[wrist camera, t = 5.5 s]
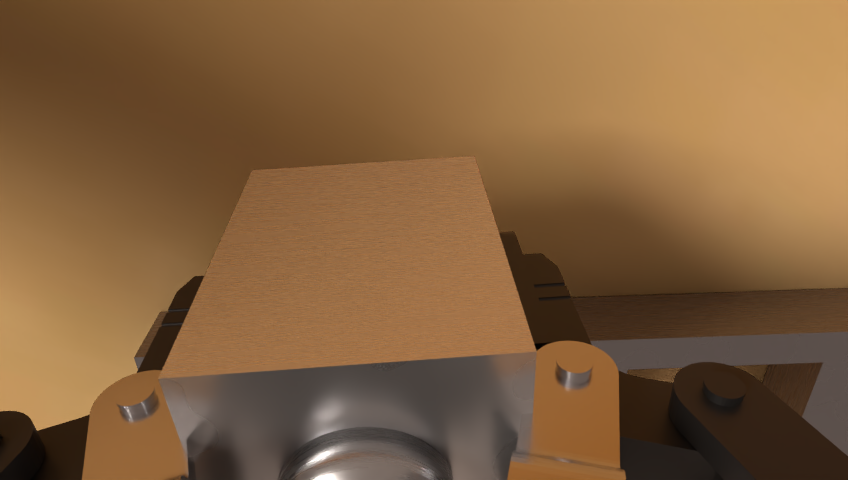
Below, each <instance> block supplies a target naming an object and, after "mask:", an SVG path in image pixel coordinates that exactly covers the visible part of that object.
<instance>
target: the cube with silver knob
mask: <svg viewBox="0 0 848 480" xmlns="http://www.w3.org/2000/svg"><path fill="white" fill-rule="evenodd" d="M536 354H537V351H536V348H535V345H534V342H533V339H532V335H531V332H530V329H529V326H528V323H527V320H526V317H525V313H524V310H523V307H522V304H521V301H520V298H519V294H518V291H517V288H516V285H515V282H514V279H513V276H512V272H511V269H510V266H509V263H508V260H507V257H506V254H505V250H504V247H503V244H502V241H501V238H500V235H499V231H498V228H497V225H496V222H495V219H494V216H493V213H492V209H491V206H490V203H489V200H488V197H487V194H486V191H485V187H484V184H483V181H482V178H481V175H480V172H479V168H478V165H477V162H476V159H475V156H464V157H448V158H433V159H417V160H402V161H386V162H371V163H355V164H340V165H324V166H309V167H293V168H278V169H262V170H252V172H251V174H250V176H249V178H248V181H247V183H246V185H245V187H244V189H243V192H242V194H241V196H240V198H239V200H238V203H237V205H236V207H235V209H234V212H233V214H232V216H231V218H230V220H229V223H228V225H227V227H226V229H225V232H224V234H223V236H222V238H221V240H220V243H219V245H218V247H217V249H216V251H215V254H214V256H213V258H212V260H211V263H210V265H209V267H208V269H207V271H206V274H205V276H204V278H203V280H202V283H201V285H200V287H199V289H198V291H197V294H196V296H195V298H194V300H193V302H192V305H191V307H190V309H189V311H188V314H187V316H186V318H185V320H184V322H183V325H182V327H181V329H180V331H179V334H178V336H177V338H176V340H175V342H174V345H173V347H172V349H171V351H170V353H169V356H168V358H167V360H166V362H165V365H164V367H163V369H162V371H161V373H160V376H159V378H158V380H159V383H160V386H161V388H162V391H163V394H164V397H165V400H166V402H167V405H168V408H169V411H170V414H171V416H172V419H173V422H174V425H175V428H176V430H177V433H178V436H179V439H187V442H188V445H189V448H190V451H191V454H192V456H193V459H194V462H195V473H196V480H507V478H508V472H509V467H510V461H511V456H512V452H513V450H516V447H517V441H518V435H519V429H520V423H521V417H522V414H531V413H533V403H534V387H535V370H536Z"/></svg>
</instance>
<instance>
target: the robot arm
mask: <svg viewBox="0 0 848 480" xmlns="http://www.w3.org/2000/svg"><path fill="white" fill-rule="evenodd" d="M499 235H500V238H501V241H502V244H503V247H504V250H505V254H506V257H507V260H508V263H509V266H510V269H511V272H512V276H513V279H514V282H515V285H516V288H517V291H518V294H519V298H520V301H521V304H522V307H523V310H524V313H525V317H526V320H527V323H528V326H529V329H530V332H531V335H532V339H533V342H534V345H535V348H536V351H537V354H536V370H535V387H534V403H533V413H531V414H522V417H521V423H520V429H519V435H518V441H517V447H516V450H513V452H512V456H511V461H510V467H509V472H508V478H507V480H848V456H847V455H846V454H845V453H844V452H842V451H841V450H840V449H839V448H838V447H837V446H835V445H834V444H833V443H832V442H831V441H829V440H828V439H827V438H826V437H825V436H824V435H822V434H821V433H820V432H819V431H818V430H817V429H815V428H814V427H813V426H812V425H811V424H809V423H808V422H807V421H806V420H805V419H804V418H802V417H801V416H800V415H799V414H798V413H796V412H795V411H794V410H793V409H792V408H791V407H789V406H788V405H787V404H786V403H785V402H784V401H782V400H781V399H780V398H779V397H778V396H776V395H775V394H774V393H773V392H772V391H771V390H769V389H768V388H767V387H766V386H765V385H764V384H762V383H761V382H760V381H759V380H757V379H756V378H755V377H753V376H752V375H750V374H748V373H747V372H745V371H743V370H741V369H738V368H736V367H733V366H730V365H726V364H722V363H716V362H698V363H694V364H690V365H688V366H685V367H684V368H682V369H681V370H680V371H679V372H678V373H677V374H676V376H675V378H674V383H669V382H663V381H657V380H651V379H645V378H640V377H635V376H632V375H629V374H626V373H623V372H621V371H619V370H618V368H617V366H616V364H615V362H614V361H613V359H612V358H611V357H610V356H609V355H608V354H606V353H605V352H604V351H602V350H601V349H599V348H597V347H595V346H592V344H591V342H590V339H589V337H588V335H587V333H586V330H585V328H584V326H583V323H582V321H581V319H580V317H579V314H578V312H577V310H576V308H575V305H574V303H573V301H572V299H570V294H569V292H568V289H567V287H566V286H565V284H564V280H563V278H562V276H561V273H560V271H559V269H558V267H557V266H556V265H555V264H554V263H552V262H551V261H550V260H549V259H548V258H546V257H545V256H544V255H543V254H541V253H540V254H525V255H523V254H522V251H521V248H520V246H519V243H518V240H517V237H516V235H515V233H514V232H499ZM203 278H204V276H195V277H194V278H192V279H191V280H190V281H189V282H188V283H187V284H186V285H184V286H183V287H182V288H181V289H180V290H179V291H178V292H177V293H176V295H175V297H174V299H173V301H172V303H171V305H170V307H169V309H168V311H169V312H168V313H166V315H165V317H164V319H163V321H162V323H161V325H162V326H161V327H159V329H158V331H157V333H156V335H155V337H154V339H153V341H152V343H151V345H150V347H149V349H148V351H147V353H146V355H145V357H144V359H143V361H142V363H141V365H140V367H139V369H138V371H137V373H135V374H132V375H129V376H127V377H125V378H122V379H121V380H119V381H117V382H115V383H114V384H112V385H111V386H109V387H108V388H107V389H106V390H104V391H103V392H102V393H101V394H100V395H99V396H98V398H97V399H96V400H95V402H94V403H93V406H92V408H91V411H90V415H87V416H85V417H82V418H79V419H76V420H72V421H69V422H66V423H62V424H59V425H56V426H52V427H49V428H46V429H42V430H39V431H37V430H36V428H35V426H34V424H33V422H32V421H31V419H30V418H29V417H28V416H27V415H25V414H23V413H21V412H17V411H1V412H0V480H196V473H195V462H194V459H193V456H192V454H191V451H190V448H189V445H188V442H187V439H179V436H178V433H177V430H176V428H175V425H174V422H173V419H172V416H171V414H170V411H169V408H168V405H167V402H166V400H165V397H164V394H163V391H162V388H161V386H160V383H159V380H158V378H159V376H160V373H161V371H162V369H163V367H164V365H165V362H166V360H167V358H168V356H169V353H170V351H171V349H172V347H173V345H174V342H175V340H176V338H177V336H178V334H179V331H180V329H181V327H182V325H183V322H184V320H185V318H186V316H187V314H188V311H189V309H190V307H191V305H192V302H193V300H194V298H195V296H196V294H197V291H198V289H199V287H200V285H201V283H202V280H203Z"/></svg>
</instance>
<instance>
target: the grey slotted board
mask: <svg viewBox="0 0 848 480" xmlns="http://www.w3.org/2000/svg"><path fill="white" fill-rule="evenodd" d="M570 299H572V301H573V303H574V305H575V308H576V310H577V312H578V314H579V317H580V319H581V321H582V323H583V326H584V328H585V330H586V333H587V335H588V337H589V339H590V342H591V344H592V346H595V347H597V348H599V349H601V350H602V351H604V352H605V353H606V354H608V355H609V356H610V357H611V358H612V359H613V361H614V362H615V364H616V366H617V368H618V370H619V371H621V372H623V373H626V374H627V371H628V370H631V369H658V368H684V367H685V366H688V365H690V364H694V363H698V362H716V363H722V364H726V365H730V366H739V365H766V364H769V365H768V368H767V371H766V374H765V377H764V380H763V383H762V384H764V385H765V386H766V387H767V388H768V389H769V390H771V391H772V392H773V393H774V394H775V395H776V396H778V397H779V398H780V399H781V400H782V401H784V402H785V403H786V404H787V405H788V406H789V407H791V408H792V409H793V410H794V411H795V412H796V413H798V414H799V415H800V416H801V417H802V418H804V419H805V420H806V421H807V422H808V423H809V424H811V425H812V426H813V427H814V428H815V429H817V430H818V431H819V432H820V433H821V434H822V435H824V436H825V437H826V438H827V439H828V440H829V441H831V442H832V443H833V444H834V445H835V446H837V447H838V448H839V449H840V450H841V451H842V452H844V453H845V454H846V455H847V456H848V288H840V289H811V290H782V291H754V292H725V293H696V294H667V295H639V296H610V297H581V298H570ZM166 313H168V312H160V313H159V315H158V317H157V318H156V320H155V322H154V324H153V325H152V327H151V329H150V331H149V332H148V334H147V336H146V338H145V339H144V341H143V343H142V345H141V346H140V348H139V350H138V352H137V353H136V355H135V357H134V359H135V362H136V365H137V368H138V369H139V367H140V365H141V363H142V361H143V359H144V357H145V355H146V353H147V351H148V349H149V347H150V345H151V343H152V341H153V339H154V337H155V335H156V333H157V331H158V329H159V327H161V326H162V325H161V323H162V321H163V319H164V317H165V315H166Z"/></svg>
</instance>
